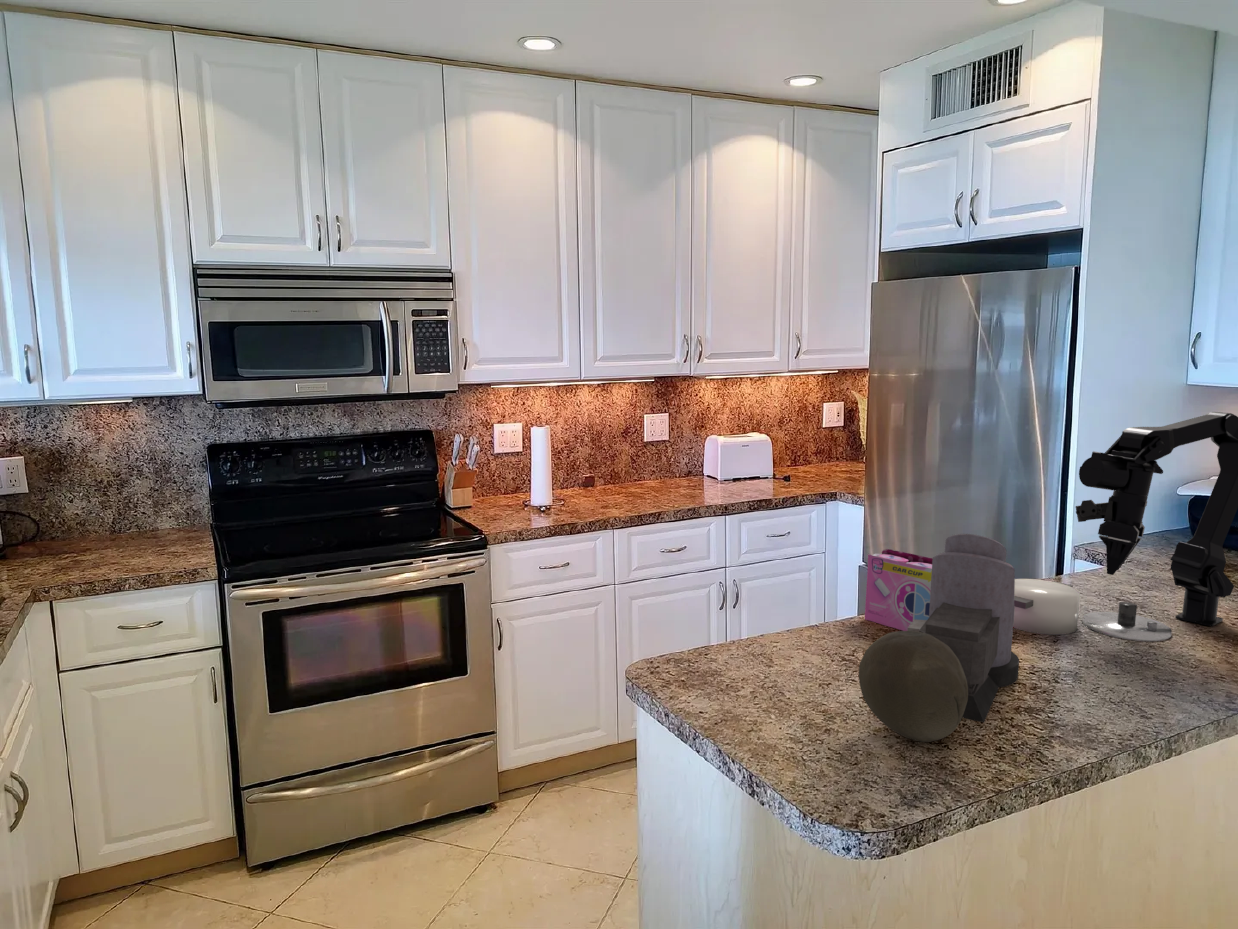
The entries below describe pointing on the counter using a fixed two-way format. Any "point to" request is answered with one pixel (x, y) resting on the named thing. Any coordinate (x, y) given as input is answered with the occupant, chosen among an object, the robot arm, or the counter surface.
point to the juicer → (974, 615)
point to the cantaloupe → (914, 685)
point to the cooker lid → (1127, 624)
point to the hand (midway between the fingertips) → (1112, 572)
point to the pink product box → (898, 588)
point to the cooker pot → (1045, 607)
